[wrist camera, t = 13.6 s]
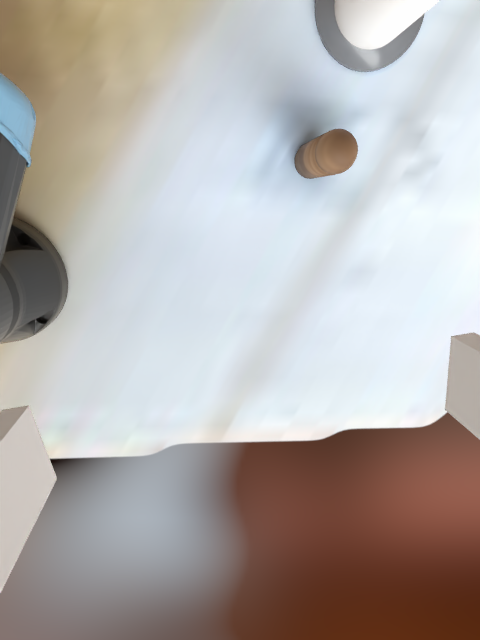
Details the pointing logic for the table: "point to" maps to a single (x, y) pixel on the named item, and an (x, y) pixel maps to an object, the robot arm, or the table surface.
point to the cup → (377, 19)
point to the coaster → (354, 55)
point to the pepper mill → (327, 154)
